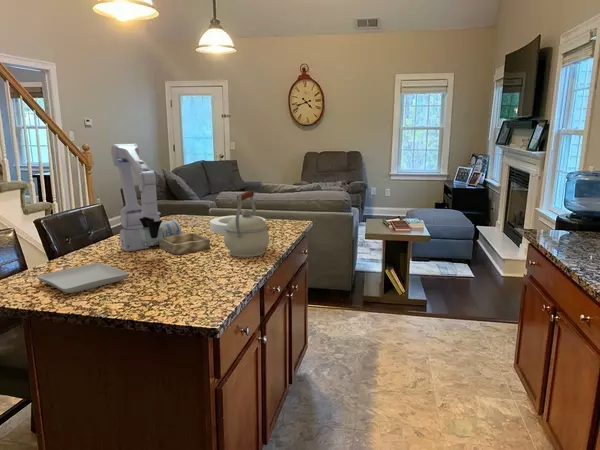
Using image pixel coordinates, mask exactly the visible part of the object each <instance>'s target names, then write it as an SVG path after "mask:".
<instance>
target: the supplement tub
mask: <svg viewBox="0 0 600 450" xmlns="http://www.w3.org/2000/svg"><path fill="white" fill-rule="evenodd" d="M160 227H162V232H163V237H170V236H176V235H183V233H182V227H181V225H180V223H179V222H178V221H177V220H175V219H173V220H166V221H162V223H161V224H160ZM145 245H146V246H148V247H154V246H159V241H155V242H148V243H145Z"/></svg>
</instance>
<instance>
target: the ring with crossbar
mask: <svg viewBox="0 0 600 450" xmlns="http://www.w3.org/2000/svg"><path fill="white" fill-rule="evenodd" d="M240 216H242V214H240ZM235 217H236V215H226V216H225V215H224V216H219V217H213V218H212V219H210V221H209V227H210V232H211V233H213V234H219V235H225V232H226V230H225V226H227V224H228V222H229V221H230V220H231V219H233V218H235ZM256 217H259V218H261V219H263V220H264V221H265V222H266V218H264V217H263V216H258V215H256Z"/></svg>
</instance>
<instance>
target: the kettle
mask: <svg viewBox="0 0 600 450" xmlns="http://www.w3.org/2000/svg"><path fill="white" fill-rule="evenodd" d="M254 195H255V193H254V191H253V190H248V191H245V192H243V193H240V194H238V195H237V196H236V200H237V209H236V217H235V218H233V219H231V220H230V221H229V222H228V224H227V226H225V230H226V232H225V234H224V235H223V236H224V237H223V243H224V246H225V247H226V248H227V250H229V254H230V255H231V256H234V257H239V258H252V257H259V256H261V255H263V254H264V253H265V249H266V248H267V247H268V246H269V243H270V234H269V230H268V229H269V225H268V224H267V223H266V220H265V221H264V220H263V219H261V218H259V217H260V216H258V217H256V216H257V212H256V210H257V209H256V205H255V202H254ZM247 199H249V202H250V205H251V208H252V209H251V211H252V213H251V211H250V210H248V209H245V210H243V211H242V212H241V209H242V203H243V201H245V200H247ZM240 215H242V216H240Z"/></svg>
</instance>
